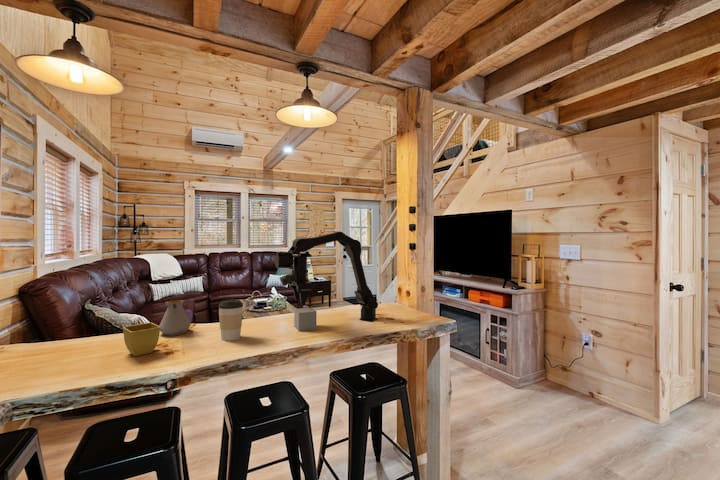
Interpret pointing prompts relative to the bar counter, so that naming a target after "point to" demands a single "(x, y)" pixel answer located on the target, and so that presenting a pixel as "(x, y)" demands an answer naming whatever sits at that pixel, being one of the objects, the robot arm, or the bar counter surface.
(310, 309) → the grey cube
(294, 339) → the bar counter surface
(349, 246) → the robot arm
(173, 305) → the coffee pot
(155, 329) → the flower pot
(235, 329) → the coffee cup
